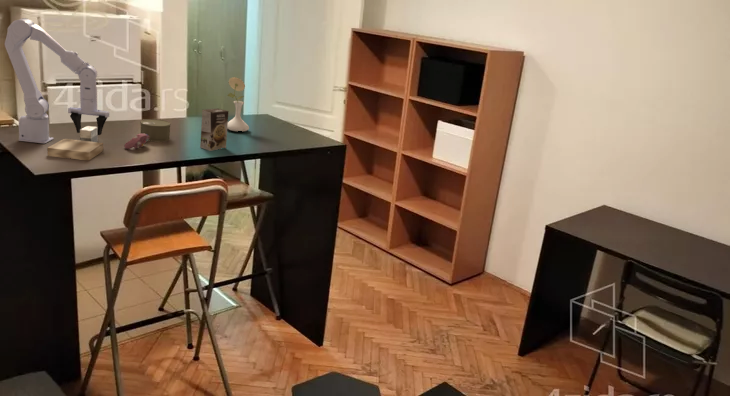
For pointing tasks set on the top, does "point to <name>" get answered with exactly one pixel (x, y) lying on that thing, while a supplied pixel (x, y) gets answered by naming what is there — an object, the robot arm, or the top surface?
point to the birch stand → (75, 149)
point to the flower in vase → (237, 106)
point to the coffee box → (214, 129)
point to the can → (156, 129)
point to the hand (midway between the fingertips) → (89, 133)
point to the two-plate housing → (89, 134)
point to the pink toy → (137, 141)
